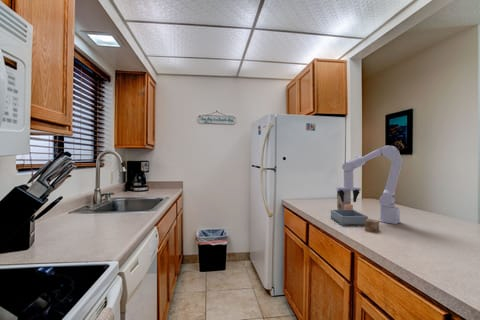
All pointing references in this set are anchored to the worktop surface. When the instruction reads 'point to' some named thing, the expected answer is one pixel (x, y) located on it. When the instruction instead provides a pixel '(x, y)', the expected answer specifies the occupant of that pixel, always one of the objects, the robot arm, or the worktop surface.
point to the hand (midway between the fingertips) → (348, 201)
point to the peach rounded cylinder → (348, 207)
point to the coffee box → (346, 200)
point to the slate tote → (348, 217)
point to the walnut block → (371, 225)
